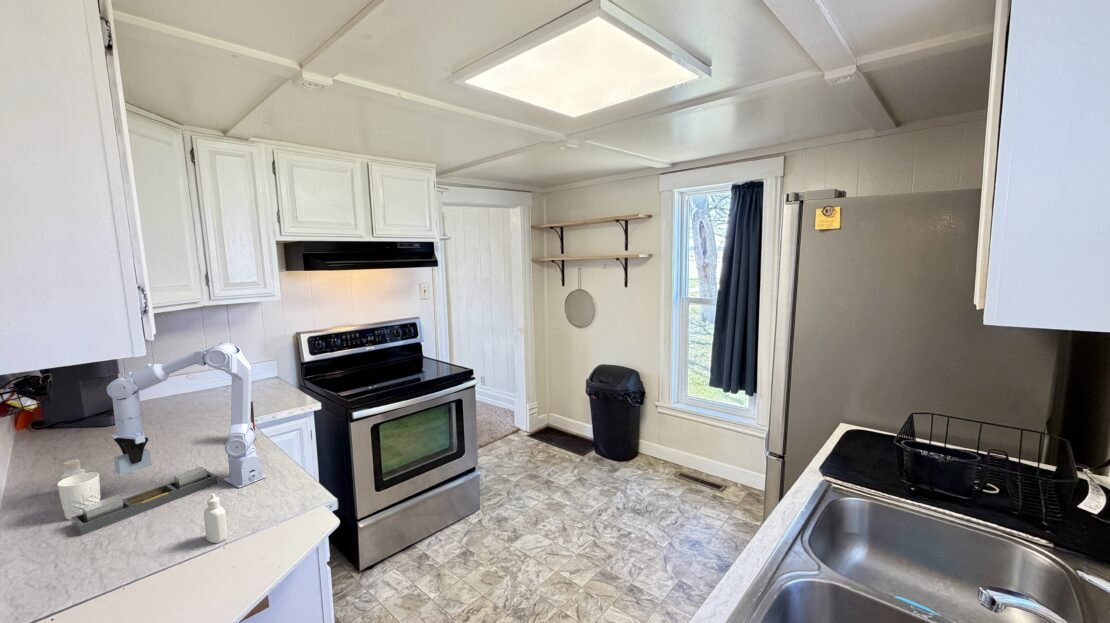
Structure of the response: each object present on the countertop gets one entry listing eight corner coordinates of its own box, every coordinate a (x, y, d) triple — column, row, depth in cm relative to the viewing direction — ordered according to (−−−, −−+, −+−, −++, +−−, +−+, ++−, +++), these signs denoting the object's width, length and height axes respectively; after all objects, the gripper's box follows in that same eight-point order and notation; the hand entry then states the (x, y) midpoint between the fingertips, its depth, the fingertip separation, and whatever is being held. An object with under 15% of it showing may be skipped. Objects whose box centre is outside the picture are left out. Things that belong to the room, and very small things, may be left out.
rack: (217, 483, 140) (216, 468, 139) (81, 535, 114) (78, 516, 113) (206, 477, 143) (205, 462, 143) (72, 526, 117) (69, 508, 117)
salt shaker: (71, 489, 135) (67, 459, 134) (88, 487, 137) (84, 457, 136) (62, 496, 132) (58, 465, 130) (80, 493, 133) (76, 463, 132)
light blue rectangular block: (151, 465, 134) (150, 451, 134) (120, 475, 128) (118, 460, 128) (146, 462, 136) (145, 448, 136) (115, 471, 130) (114, 457, 130)
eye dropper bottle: (227, 529, 117) (223, 486, 115) (227, 540, 112) (223, 496, 111) (206, 535, 114) (201, 492, 113) (205, 547, 110) (201, 501, 108)
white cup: (101, 501, 129) (97, 469, 128) (105, 511, 124) (100, 478, 123) (61, 513, 123) (56, 479, 122) (63, 524, 118) (58, 489, 117)
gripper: (100, 416, 131) (106, 460, 132) (119, 426, 123) (125, 472, 125) (132, 409, 137) (137, 451, 138) (152, 418, 129) (157, 462, 131)
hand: (133, 460), depth 132 cm, fingers closed on light blue rectangular block, 3 cm apart
